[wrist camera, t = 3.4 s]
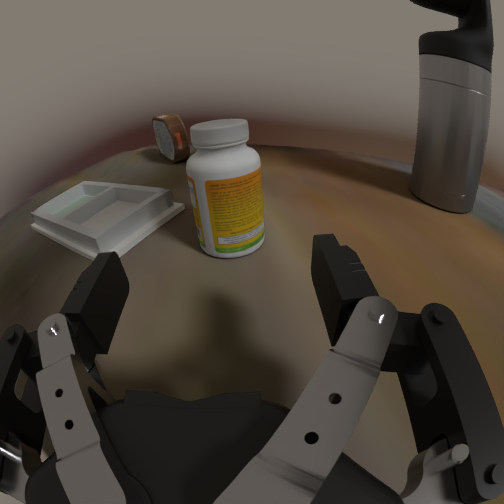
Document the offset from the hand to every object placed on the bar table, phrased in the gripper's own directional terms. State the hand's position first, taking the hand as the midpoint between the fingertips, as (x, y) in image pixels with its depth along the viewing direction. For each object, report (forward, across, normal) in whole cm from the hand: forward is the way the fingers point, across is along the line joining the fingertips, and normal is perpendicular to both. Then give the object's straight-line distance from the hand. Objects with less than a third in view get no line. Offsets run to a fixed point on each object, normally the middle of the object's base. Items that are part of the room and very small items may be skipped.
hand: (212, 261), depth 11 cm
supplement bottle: (+11, 0, +6) cm, 12 cm away
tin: (+41, +12, +6) cm, 43 cm away
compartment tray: (+18, +17, +6) cm, 26 cm away
